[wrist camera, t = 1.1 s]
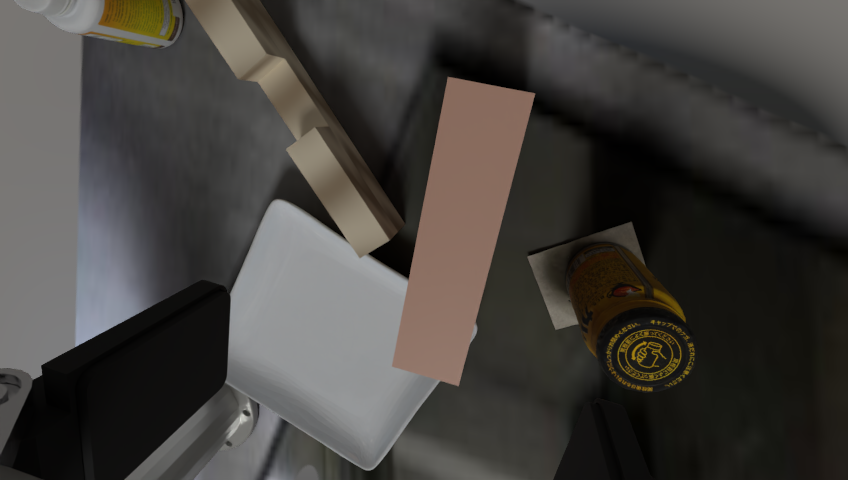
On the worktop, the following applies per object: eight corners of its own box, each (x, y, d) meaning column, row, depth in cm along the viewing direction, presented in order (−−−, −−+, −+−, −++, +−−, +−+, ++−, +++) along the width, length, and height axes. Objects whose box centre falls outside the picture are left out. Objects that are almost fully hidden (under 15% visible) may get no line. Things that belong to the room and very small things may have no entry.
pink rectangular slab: (476, 288, 36) (458, 386, 23) (433, 277, 37) (391, 366, 24) (524, 103, 31) (535, 93, 18) (473, 93, 32) (448, 76, 19)
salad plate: (486, 309, 37) (484, 327, 34) (379, 452, 45) (369, 478, 41) (291, 185, 38) (271, 192, 34) (217, 348, 45) (194, 365, 42)
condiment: (657, 301, 34) (731, 393, 22) (555, 328, 36) (576, 425, 25) (630, 220, 32) (695, 276, 21) (526, 255, 35) (535, 321, 23)
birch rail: (405, 224, 36) (389, 240, 31) (378, 240, 37) (359, 258, 32) (227, -50, 32) (179, -78, 28) (203, -24, 33) (152, -47, 29)
